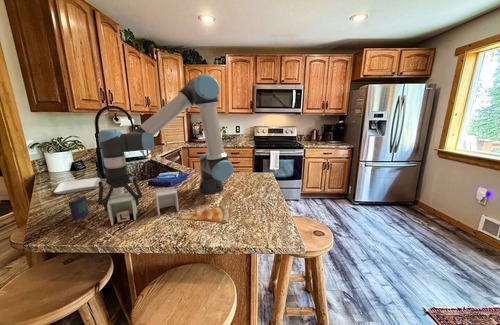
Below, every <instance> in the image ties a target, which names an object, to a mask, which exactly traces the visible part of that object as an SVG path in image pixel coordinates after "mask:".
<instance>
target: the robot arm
mask: <svg viewBox="0 0 500 325" xmlns="http://www.w3.org/2000/svg"><path fill="white" fill-rule="evenodd" d="M219 94H220V84H219V81H218V80H217V79H216V78H215V77H214V76H213V75H212V74H209V73H201V74H198V75H197V76H195V77H193V78H192V79H190V80H189V81H188V82H187V83H186V84H184V86H183V87H182V88H181V89H180V90H179V91H178V92H177V95H176V96H175V97H174V98H173V99H171V100H170V101H168V103H166V104H165V105H163V107H161V108H160V109H159V110H157V111H156V112H155V113H154V114H152V115H151V116H150V117H149V118H148V119H146V120H145V121H144V122H143V123H142V124H140V125H139V126H138V127H137V128H135V129H134V130H132V131H130V133H122V131H121V130H120V129H118V128H117V129H113V128H111V129H102V130H100V131H99V132H98V135H99V143H100V148H101V153H102V158H103V163H104V164H103V165H104V167H105V170H104V171H105V175H106V179H105V180H99V183H98V188H99V189H98V190H99V191H98V200H97V205H98V206H101V205H102V206H103V209H104V212H105V213H108V218H109V220H110V215H109V209H108V204H107V203H108V200H109V198H110V196H112V194H113V193H112V191H113V189H114V188H119V187H123V188H124V189H126V191H127V193H130V194H131V195H132V196H133V197H134V198H133V201H134V208H135V214H136V215H137V214H138V208H137V207H139V205H140V203H139V201H140V200H139V199H140V198H142V197H143V193H142V191H141V188H140V187H139V185H138V184H139V183H138V182H137V176H135V175H134V176H129V174H128V169H127V165H126V163H127V162H126V157H125V155H126V154H125V152H134V151H135V152H136V151H148V150H153V149H154V148H155V140H154V136H155V135H156V134H158V133H159V132H160V131H161V130H163V128H165V127H166V126H167V125H168V124H170V123H171V122H172V121H173V120H175V118H177V117H178V116H179V115H181V113H182V112H184V111H185V110H186V109H188V108H192V107H193V106H194V105H195V107H196V108H198V110H199V115H200V119H201V125H202V130H203V134H204V139H205V144H206V149H207V153H202V154H200V155H199V164H200V165H199V167H200V182H199V185H198V192H199V193H201V194H204V195H215V194H218V193H220V192H223V191H224V184H223V181H227V180H228V179H230V178H231V176H232V175H233V172H234V166H233V163H232V162H231V161H230V159H229V155H228V153H227V152H226V151H225V148H224V142H223V138H222V132H221V126H220V121H219V116H218V115H219V114H218V110H217V105H218V104H219V98H218V96H219ZM129 181H130V182H131V183H133V185H134V186H133V187H134V188H135V190H136V192H137V193H136V192H135V191H134V190H133V188H131V186H130V185H129V184H128V182H129ZM106 184H107V185H109V190H108V191H107V195H106V197H105V199H104V200H103V198H104V189H105V188H104V187H105V186H106ZM110 186H111V187H110Z"/></svg>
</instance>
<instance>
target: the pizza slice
mask: <svg viewBox="0 0 500 325" xmlns="http://www.w3.org/2000/svg"><path fill="white" fill-rule="evenodd" d="M229 216H230V215H229V210H228V208H227V207H226V206H225V205H224V204H223V203H222V204H219V205H218V206H217V207H213V208H209V209H207V210H206V209H205V210H204V211H200V212H196V213H193V214H189V215H185V216H182V217H179V218H178V219H179V220H187V221H196V222H198V221H199V222H210V223H221V224H222V223H223V224H228V222H229V218H230V217H229Z"/></svg>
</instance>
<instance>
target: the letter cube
mask: <svg viewBox="0 0 500 325" xmlns="http://www.w3.org/2000/svg"><path fill="white" fill-rule="evenodd" d="M116 214H117V216H116V220H117V223H123V222H127V221H130V220H131V213H130V212H129V207H126V208H121V209H117V212H116Z"/></svg>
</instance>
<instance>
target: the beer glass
mask: <svg viewBox="0 0 500 325" xmlns="http://www.w3.org/2000/svg"><path fill="white" fill-rule="evenodd" d="M110 187H111V186H110V185H109V188H110ZM111 194H112V196H113V195H119V194H125V191H124V187H119V188H114V189H113V191H112V193H111Z"/></svg>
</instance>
